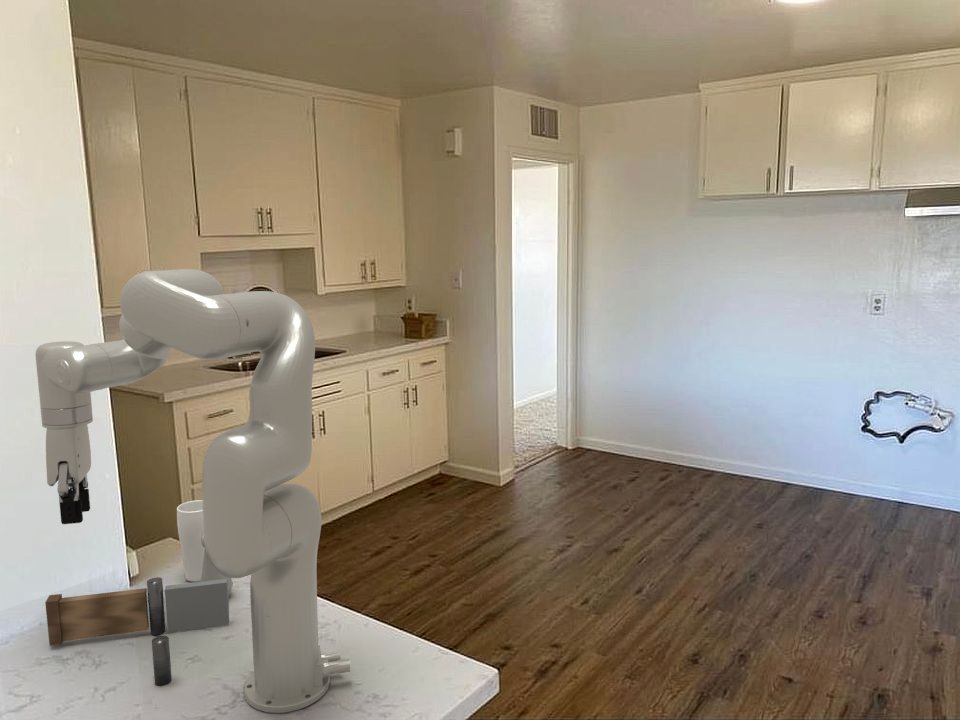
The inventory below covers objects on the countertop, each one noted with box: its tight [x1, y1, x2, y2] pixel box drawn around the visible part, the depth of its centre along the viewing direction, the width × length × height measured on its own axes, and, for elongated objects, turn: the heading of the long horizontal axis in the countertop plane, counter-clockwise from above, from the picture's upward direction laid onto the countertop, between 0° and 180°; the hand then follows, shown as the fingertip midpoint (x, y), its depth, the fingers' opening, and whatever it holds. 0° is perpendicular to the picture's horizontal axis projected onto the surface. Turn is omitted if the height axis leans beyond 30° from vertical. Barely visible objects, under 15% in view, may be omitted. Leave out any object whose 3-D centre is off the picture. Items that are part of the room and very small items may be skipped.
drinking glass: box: [176, 499, 205, 583], centre depth 144 cm, size 7×7×15 cm
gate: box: [45, 587, 150, 647], centre depth 122 cm, size 15×2×8 cm, turn 106°
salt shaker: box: [200, 535, 234, 597], centre depth 136 cm, size 6×6×13 cm
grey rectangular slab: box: [164, 579, 230, 634], centre depth 126 cm, size 10×2×8 cm, turn 106°
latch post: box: [151, 634, 173, 687], centre depth 110 cm, size 2×2×7 cm
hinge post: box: [146, 577, 167, 637], centre depth 124 cm, size 2×2×10 cm
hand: (76, 516), depth 126 cm, fingers open, 4 cm apart
